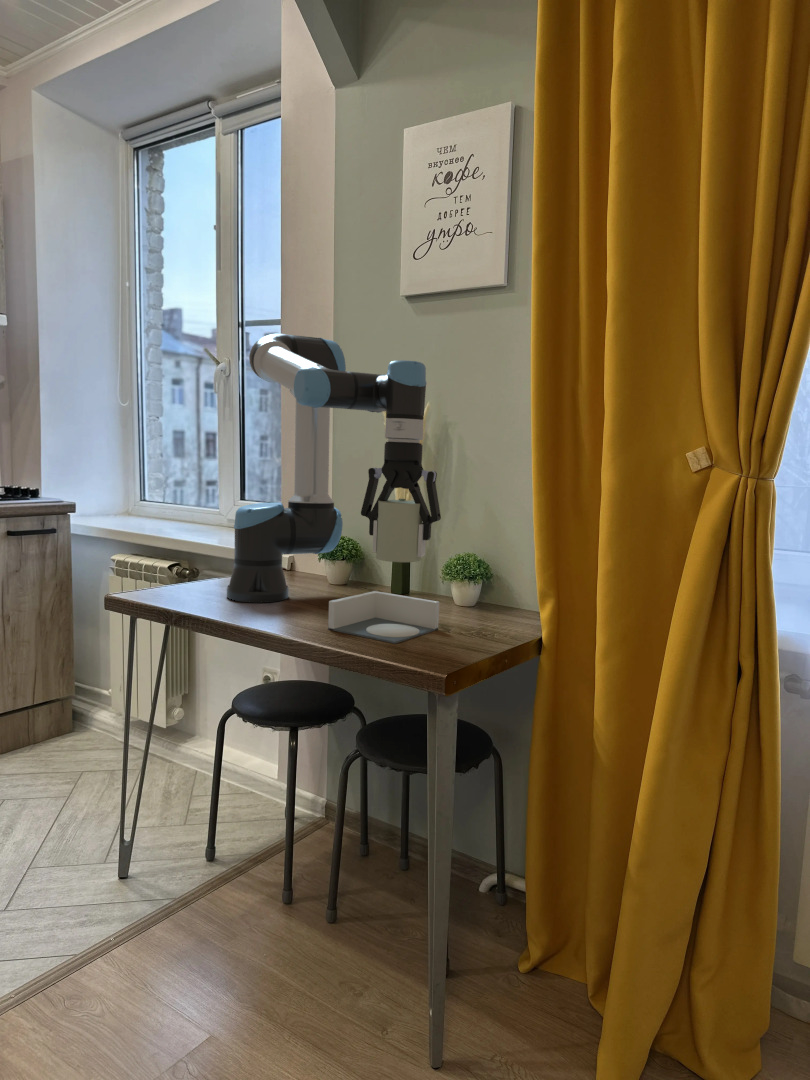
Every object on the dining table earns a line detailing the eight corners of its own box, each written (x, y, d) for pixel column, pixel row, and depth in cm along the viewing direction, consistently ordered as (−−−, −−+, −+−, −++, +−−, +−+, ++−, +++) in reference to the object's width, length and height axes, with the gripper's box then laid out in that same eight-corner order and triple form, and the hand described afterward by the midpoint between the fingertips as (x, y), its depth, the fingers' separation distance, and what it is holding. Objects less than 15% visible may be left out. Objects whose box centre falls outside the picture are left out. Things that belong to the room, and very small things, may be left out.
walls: (328, 629, 154) (328, 601, 153) (373, 617, 167) (374, 591, 166) (395, 643, 144) (396, 613, 144) (438, 629, 158) (439, 601, 157)
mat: (328, 629, 154) (328, 626, 154) (373, 617, 167) (374, 614, 167) (395, 643, 144) (395, 640, 144) (438, 629, 158) (438, 626, 157)
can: (421, 556, 154) (424, 498, 152) (421, 563, 145) (424, 502, 143) (377, 554, 154) (379, 496, 152) (373, 561, 145) (376, 499, 143)
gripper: (346, 438, 146) (341, 551, 149) (451, 443, 139) (444, 561, 142) (360, 439, 153) (356, 547, 156) (461, 443, 146) (455, 556, 149)
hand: (398, 553), depth 149 cm, fingers closed on can, 9 cm apart
